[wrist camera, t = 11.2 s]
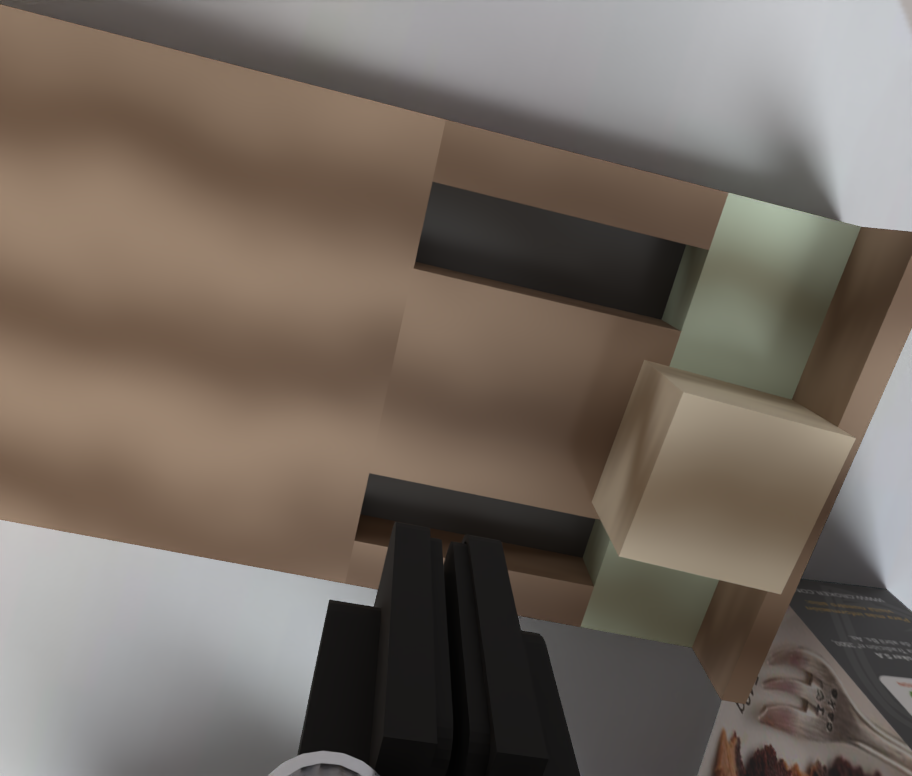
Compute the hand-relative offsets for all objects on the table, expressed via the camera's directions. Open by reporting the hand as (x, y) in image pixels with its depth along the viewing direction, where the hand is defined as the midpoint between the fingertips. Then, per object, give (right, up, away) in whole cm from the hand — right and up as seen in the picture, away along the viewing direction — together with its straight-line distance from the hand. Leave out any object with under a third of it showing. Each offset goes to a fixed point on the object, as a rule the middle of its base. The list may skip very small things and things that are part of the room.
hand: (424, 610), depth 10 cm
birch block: (+10, +1, +15) cm, 18 cm away
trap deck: (-3, +5, +16) cm, 17 cm away
